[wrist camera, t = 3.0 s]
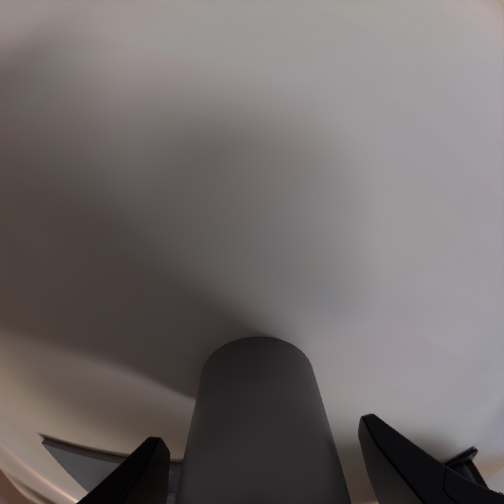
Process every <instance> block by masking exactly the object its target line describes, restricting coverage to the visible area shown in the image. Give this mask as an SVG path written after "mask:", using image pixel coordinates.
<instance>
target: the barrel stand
mask: <svg viewBox="0 0 504 504" xmlns="http://www.w3.org/2000/svg"><path fill="white" fill-rule="evenodd" d="M42 444H43V445H44V447H45V448H46V449H47V450H48V451H49V453H50V454H51V455H52V456H53V457H54V458H55V459H56V460H57V462H58V463H59V464H60V465H61V466H62V467H63V468H64V469H65V470H66V471H67V472H68V473H69V474H70V475H71V476H72V477H73V478H74V479H75V480H76V481H77V482H78V483H79V484H80V485H81V486H82V487H83V488H84V489H85V490H86V491H87V492H88V493H89V492H90V491H92V490H93V489H94V488H95V487H96V486H97V485H98V484H99V483H100V482H102V481H103V480H104V479H105V478H106V477H107V476H108V475H109V474H110V473H111V472H113V471H114V470H115V469H116V468H117V467H118V466H119V465H120V464H121V463H122V462H123V461H124V460H125V459H126V457H120V456H114V455H109V454H103V453H99V452H94V451H89V450H85V449H81V448H77V447H73V446H70V445H66V444H62V443H59V442H56V441H53V440H49V439H46V438H45V439H44V440H43V442H42ZM182 464H183V463H170V468H169V487H168V496H167V501H166V504H175V499H176V494H177V488H178V483H179V478H180V473H181V469H182Z"/></svg>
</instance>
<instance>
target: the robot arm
mask: <svg viewBox="0 0 504 504" xmlns="http://www.w3.org/2000/svg"><path fill="white" fill-rule="evenodd" d="M358 436H359V440H360V444H361V448H362V452H363V457H364V461H365V465H366V469H367V473H368V476H369V479H370V481H371V484H372V486H373V489H374V492H375V494H376V497H377V499H378V502H379V504H504V494H503V493H501V492H499V493H497V492H495V491H493V490H490V489H489V488H488V486H487V484H486V483H485V481H484V479H483V478H482V476H481V474H480V473H479V471H478V469H477V468H476V466H475V464H474V463H473V461H472V460H473V459H474V457H475V456H476V454H477V453H478V450H477V449H476V448H475V449H473V450H472V451H470V452H468V453H467V454H465V455H463V456H461V457H459V458H458V459H456V460H454V461H452V462H450V463H448V464H446V465H444V464H442V463H441V462H439V461H438V460H436V459H435V458H434V457H432V456H431V455H429V454H428V453H426V452H425V451H424V450H422V449H421V448H419V447H418V446H416V445H415V444H414V443H412V442H411V441H410V440H408V439H407V438H405V437H404V436H403V435H401V434H400V433H399V432H397V431H396V430H395V429H393V428H392V427H390V426H389V425H388V424H386V423H385V422H384V421H382V420H381V419H380V418H379V417H377V416H376V415H375V414H368V415H364V416H362V417H361V418H360V423H359V429H358ZM169 468H170V452H169V449H168V448H167V446H166V444H165V443H164V441H163V439H162V438H160V437H148V438H147V439H146V440H145V441H144V442H143V443H142V444H141V445H140V446H139V447H138V448H137V449H136V450H135V451H134V452H133V453H132V454H131V455H130V456H128V457H127V458H126V459H125V460H124V461H123V462H122V463H121V464H120V465H119V466H118V467H117V468H116V469H115V470H114V471H113V472H111V473H110V474H109V475H108V476H107V477H106V478H105V479H104V480H103V481H102V482H100V483H99V484H98V485H97V486H96V487H95V488H94V489H93V490H92V491H90V492H89V493H88V494H87V495H86V496H85V497H83V498H82V499H81V500H80V501H79V502H78V503H76V504H166V501H167V496H168V487H169Z"/></svg>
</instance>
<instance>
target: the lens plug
mask: <svg viewBox="0 0 504 504" xmlns="http://www.w3.org/2000/svg"><path fill="white" fill-rule="evenodd" d="M175 504H351V501H350V497H349V493H348V490H347V486H346V482H345V478H344V475H343V471H342V468H341V464H340V460H339V457H338V453H337V450H336V446H335V443H334V439H333V436H332V432H331V429H330V425H329V422H328V419H327V415H326V412H325V408H324V405H323V402H322V398H321V395H320V392H319V388H318V385H317V382H316V379H315V375H314V372H313V369H312V366H311V363H310V361H309V359H308V358H307V357H306V355H305V354H304V353H303V352H302V351H301V350H299V349H298V348H297V347H295V346H293V345H292V344H290V343H288V342H285V341H282V340H279V339H275V338H268V337H250V338H244V339H239V340H236V341H233V342H231V343H228V344H226V345H224V346H222V347H221V348H219V349H218V350H217V351H215V352H214V353H213V354H212V355H211V356H210V357H209V359H208V360H207V362H206V364H205V366H204V368H203V372H202V376H201V380H200V385H199V389H198V394H197V398H196V403H195V407H194V412H193V416H192V421H191V426H190V430H189V435H188V440H187V444H186V449H185V454H184V459H183V464H182V469H181V473H180V478H179V483H178V488H177V494H176V499H175Z"/></svg>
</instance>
